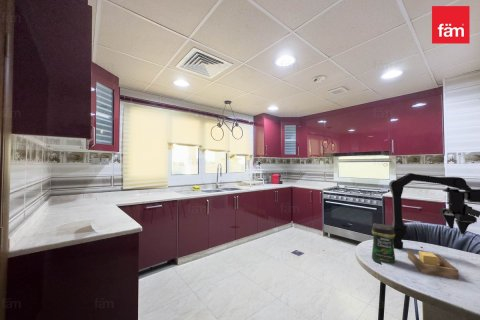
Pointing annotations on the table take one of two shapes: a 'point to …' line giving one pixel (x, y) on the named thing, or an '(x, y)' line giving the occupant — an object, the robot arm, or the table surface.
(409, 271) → the table surface
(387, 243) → the coffee jar
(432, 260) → the ochre cube
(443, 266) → the walnut cubby
